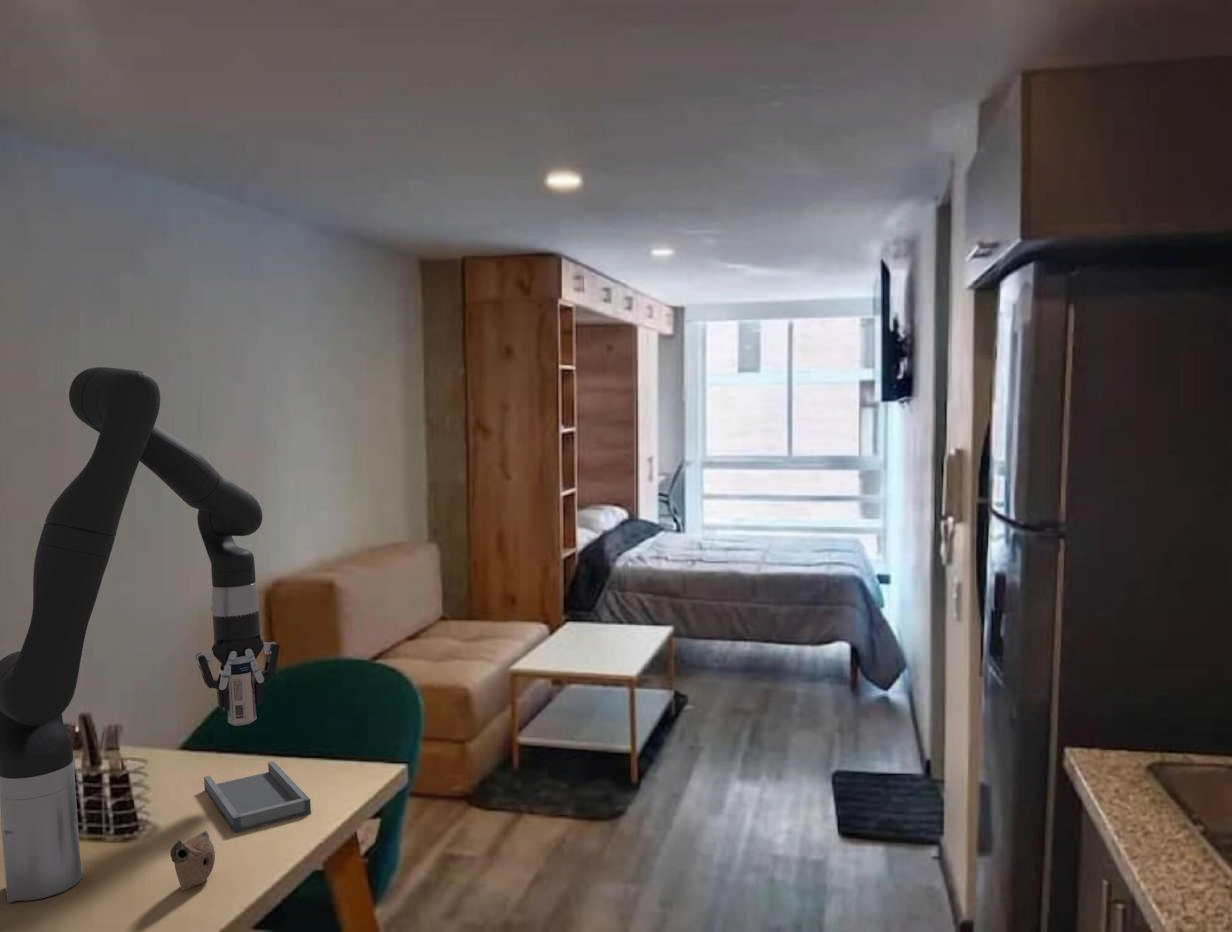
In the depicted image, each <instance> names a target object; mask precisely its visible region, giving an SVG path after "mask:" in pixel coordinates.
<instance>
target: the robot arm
mask: <svg viewBox="0 0 1232 932" xmlns="http://www.w3.org/2000/svg"><path fill="white" fill-rule="evenodd" d="M68 400H69V404H70V408H71V410H72V412H73V413H74V414H75V416H76V417H77V418H78V420H80V421H81V422H82V423H84V424H85V425H86V426H88V427H90V428H91V429H92V430H95V432H98V433H99V435H98V439H97V441H96V444H95V447H94V450H93V452H92V455H91V456H90V458H89V460H88V462H87V463H86V464H85V466H84V468H83V469H82V470H81V471H80V472H79V474H78V475H77V476H76V477H75V478H74V479H73V480H72V481H71V482H70V483H69V484H68V485H67V486H66V487H65V489H64V490H63V491H62V492H61V493H60V495H58V497H57V498H56V500H55V501H54V502H53V503H52V506H50V509H49V511H48V513H47V516H46V518H45V520H44V524H43V526H42V530H41V533H40V536H39V540H38V544H37V547H36V552H35V557H34V564H33V577H32V581H33V582H32V592H33V593H32V597H33V598H32V612H31V617H30V618H31V619H30V624H29V627H28V629H27V633H26V636H25V638H24V640H23V641H24V642H23V645H22V647H21V650H19V651H15V652H12V653H10V654H8V655H6V656H4V657H3V658H1V659H0V828H1V829H0V831H1V841H2V842H1V843H2V855H3V856H2V857H3V868H4V881H5V883H4V884H5V892H6V902H7V903H13V902H17V901H33V900H39V899H40V900H41V899H46V898H47V897H53V896H54V895H57V894H60V893H63V892H65V891H67V890H69V889H70V888H72V887H74V886H75V885H77V883H78V882H80V880H81V878H82V859H81V851H80V850H81V847H80V846H81V845H80V836H79V835H80V834H79V822H78V821H79V819H78V808H77V807H78V805H77V794H76V789H77V788H76V779H75V775H76V774H75V762H74V761H75V760H74V750H73V742H72V740H71V737H70V736H69V734H68V731H67V729H66V726H65V723H64V719H63V713H64V712H65V711H66V709H67V708H68V707H69V705H70V704H71V701H72V700H73V698H74V695H75V692H76V689H77V683H78V679H79V674H80V667H81V661H82V655H83V648H84V644H85V643H84V642H85V638H86V634H87V630H88V626H89V623H90V619H91V616H92V613H93V610H94V608H95V604H96V601H97V598H98V595H99V591H100V588H101V585H102V582H103V579H104V576H105V572H106V569H107V566H108V563H109V560H110V556H111V553H112V551H113V547H114V543H115V539H116V537H117V533H118V528H119V525H120V522H121V521H120V520H121V517H122V513H123V510H124V507H125V504H126V501H127V498H128V495H129V492H130V489H131V486H132V483H133V480H134V476H135V473H136V471H137V468H138V465H139V463H141V464H142V465H144V467H147V468H148V470H150V471H151V472H152V473H153V474H154V475H156V476H157V477H158V478H159V479H160V480H161V481H162V482H163V483H165V484H166V486H168V488H170V489H171V490H172V491H173V492H174V493H175V494H176V495H177V496H178V497H179V498H180V499H181V500H182V501H184V503H186V505H188V506H189V507H191V508H193V509H196V510H198V511H197V526H198V531H199V534H200V536H201V540H202V542H203V544H204V547H205V550H206V551H205V552H206V553H207V556H208V558H209V559H208V560H209V562H210V566H211V567H210V569H211V571H210V572H211V585H212V587H211V588H212V590H211V612H212V625H213V626H212V629H213V646H212V647H211V650H209V651H207V652H203V653H201V652H200V653H196V655H195V660H196V663H197V665H198V668H199V671H200V674H201V676H202V680H203V682H204V685H206V687H207V688H208V689H215V690H216V694H217V695H216V696H217V697H216V698H217V699H216V700H217V705H218V707H219V708H220V709H222V711H225V712H226V711H228V710H229V705H228V690H227V689H226V686H227V683H228V679H229V677H230V675H231V665H229V664H231V663H232V662H233V661H235V659H236V657H240V656H246V657H247V659H250V660H251V668H252V670H253V673H254V688H255V705H256V706H257V705H261V704H262V701H264V698H265V690H264V688H265V687H264V682H265V681H266V680H268V679H269V678H270V679H271V678H273V677H274V676H275V673H276V667H277V661H278V657H279V653H280V652H279V651H280V648H281V647H280V645H279V643H277V642H275V641H270V642H268V641H264V640H263V639H262V637H261V624H260V620H261V619H260V607H259V592H258V589H257V583H256V581H257V580H256V565H255V557H254V554H253V552H252V551H251V550H249V549H246V548H243V547H240V546H238V545H237V544H236V543H235V540H234V538H233V537H244V536H245V537H246V536H250V535H253V534H254V533H256V532H257V530H259V528H260V527H261V525H262V522H263V510H262V507H261V504H260V503H259V502H258V500H257V499H256V497H254V496H253V494H251V493H250V492H248V491H247V490H246V489H244V488H243V487H241V486H239V485H238V484H236V483H234V482H233V481H232V480H229V479H228V478H226V477H223V476H222V475H221V474H220V473H219V471H217V470H216V469H215V467H213V466H212V465H211V463H210V462H209V461H208V460H207V458H205V457H204V456H202V454H200V452H198V451H197V450H195V448H193V447H192V446H190V445H188V444H187V443H185V442H183V441H182V440H181V439H178V438H177V437H176V436H174V435H172V434H170V433H169V432H168V431H166V430H165V429H163V428H162V427H160V426H158V425H157V424H156V423H157V420H158V419H157V418H158V415H159V412H160V408H161V391H160V387H159V384H158V382H157V381H156V379H155V378H154V377H153V376H152V375H150V374H149V373H147V372H144V371H141V370H134V369H126V368H118V367H107V366H105V367H103V366H97V367H90V368H87V369H84V370H83V371H81V372H79V373H78V374H77V375H76V376H75V377H74V378H73V380H72V382H71V385H70V386H69V391H68ZM263 649H264V654H265V655H266V658H265V663H264V669H263V670H262V671H261V668H260V666H259V663H258V661H257V659H258V657H259V655H260V654H261V652H262V650H263ZM213 657H215V658H216V659H217V661H218V662H220V665H219V669H218V675H217V679H215V678H214V677H213V674H212V672H211V668H210V665H212V661H213V660H212V659H213ZM252 660H253V661H252Z"/></svg>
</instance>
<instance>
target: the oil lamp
mask: <svg viewBox="0 0 1232 932" xmlns="http://www.w3.org/2000/svg"><path fill="white" fill-rule="evenodd" d="M215 853H216V852H215V847H214V845H213V843H212V841H211V839H210V836H209V833H208V832H207V831H203V832H201V833H199V834H197V835H196V836H194V837H193V838H191V839H189V840H187V841H186V842H185V843H183V841H182V840H178V841H177V842H175V844H174V845H173V846H172V847H171V849H170V853H169V855H170V858H171V861H172V862H173V863H174V869H175V873H176V877H177V879H178V883H179V886H180V887H181V889H182V890H184V891H185V890H188V889H190V888H193V887H196V886H199V885H200V884H203V883H204V882H205V881H207V879H208V878H209V876H211V874H212V872H213V871H212V870H213V869H214V865H215V861H216V854H215Z"/></svg>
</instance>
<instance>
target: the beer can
mask: <svg viewBox="0 0 1232 932" xmlns="http://www.w3.org/2000/svg"><path fill="white" fill-rule="evenodd" d="M252 661H253V660H252ZM229 665H231V675H230V677H229V679H228V683H227V686H226V689H227V690H228V705H229V710H227V723H228V724H230V725H232V726H236V727H238V726H239V727H241V726H247V725H250V724H252V723H253V722H254V721H255V720H257V717H258V716H257V709H256V707H257V705H256V704H255V688H254V673H253V670H252V668H251V660H250V659H247V657H246V656H240V657H236V659H235V661H233V662H232V663H231V664H229Z"/></svg>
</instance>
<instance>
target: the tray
mask: <svg viewBox="0 0 1232 932" xmlns="http://www.w3.org/2000/svg"><path fill="white" fill-rule="evenodd" d="M267 768H268V771H267V772H262V773H258V774H254V775H251V776H250V775H249V776H247V777H241V778H236V779H233V780H229V781H225V782H220V783H216V782H215V780H214V778H212V776H211V775H205V776H203V785H204V791H205V793H206V795H207V796H208V797H209V798H210V800H211V802H212V803H213V804H214V806H215V807H216V809H217V810H218V812H219V813H220V814H221V816H222V818H223V819H224V820H225V821H226V823H227V825H228V826H229V827H230V829H231V830H232V832H233V833H234V834H237V833H241V832H245V831H248V830H252V829H257V828H261V827H265V826H267V825H271V824H275V823H279V822H283V821H287V820H291V819H294V818H298V817H302V816H306V815H311V814H312V812H311V811H312V808H311V807H312V806H311V798H310V797H309V796H308V795H307V794H306V793H305V791H304V790H302V789H301V788H300V787H299V786H298V785H297V783H295V782H294V781H293V780H292V779H291V778H290V776H288V774H287V773H286V772H285V771H284V770H283V769H282V768H281V767H280V766H279V765H278V764H277V763H276V762H275V761H274V760H272V761H267Z"/></svg>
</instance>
